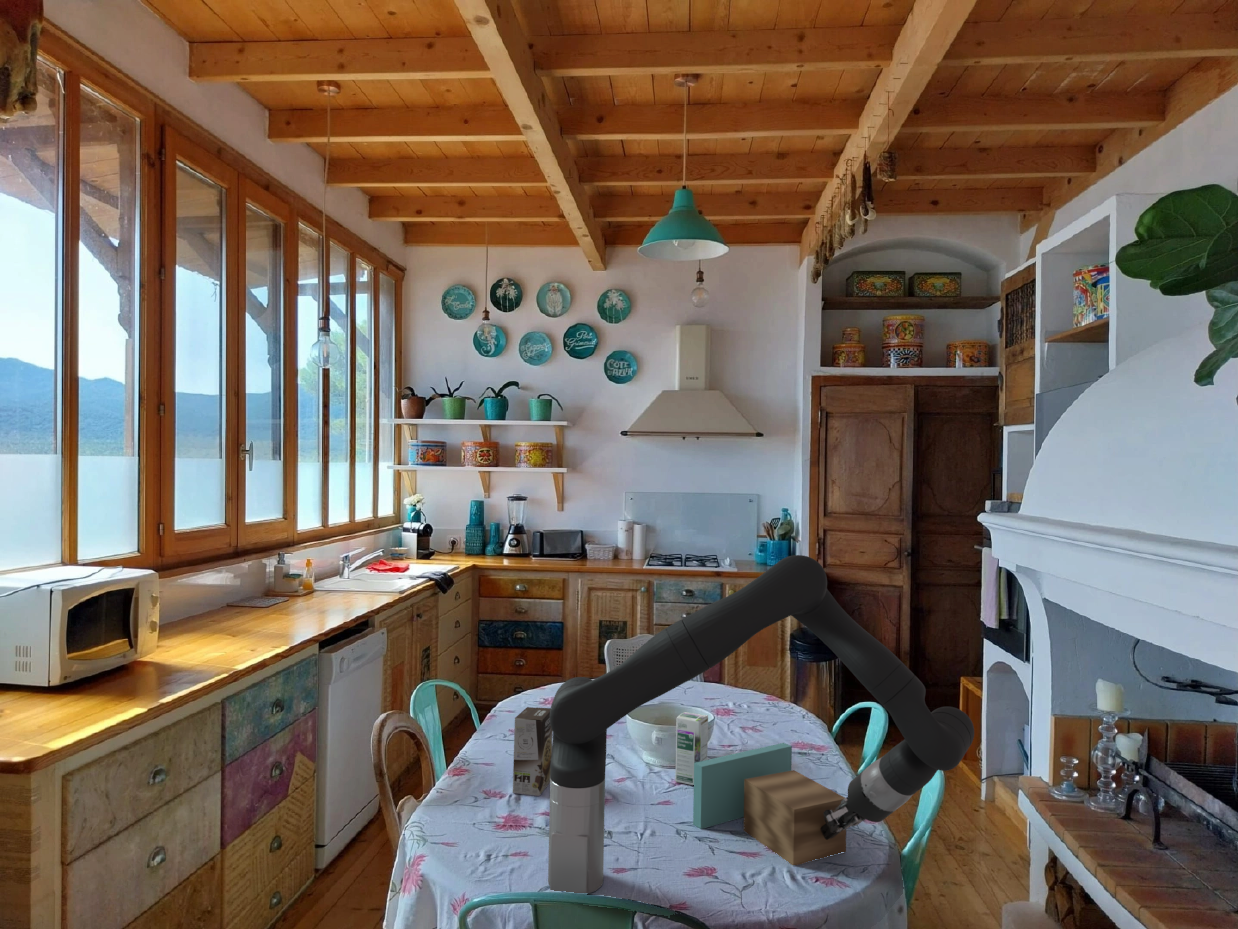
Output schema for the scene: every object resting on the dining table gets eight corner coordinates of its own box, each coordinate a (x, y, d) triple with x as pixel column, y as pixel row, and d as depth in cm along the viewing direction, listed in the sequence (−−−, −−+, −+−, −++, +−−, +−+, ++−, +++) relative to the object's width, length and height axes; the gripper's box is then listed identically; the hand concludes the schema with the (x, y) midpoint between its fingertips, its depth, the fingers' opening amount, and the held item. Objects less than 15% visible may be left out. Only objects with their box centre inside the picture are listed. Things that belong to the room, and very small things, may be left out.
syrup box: (674, 782, 173) (675, 717, 174) (684, 773, 179) (685, 710, 179) (698, 787, 171) (699, 721, 171) (707, 778, 176) (708, 714, 176)
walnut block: (845, 853, 142) (846, 798, 142) (793, 866, 137) (794, 809, 137) (793, 820, 155) (793, 770, 156) (743, 831, 150) (744, 779, 150)
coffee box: (540, 796, 164) (542, 720, 164) (511, 793, 165) (513, 717, 166) (552, 780, 173) (554, 707, 173) (525, 777, 174) (526, 705, 175)
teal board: (790, 803, 163) (791, 746, 163) (700, 829, 150) (701, 766, 150) (782, 799, 165) (783, 742, 165) (693, 824, 152) (694, 762, 152)
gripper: (895, 760, 135) (840, 806, 145) (842, 774, 128) (788, 821, 138) (921, 802, 130) (862, 846, 140) (867, 818, 123) (809, 864, 133)
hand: (825, 833), depth 139 cm, fingers closed
